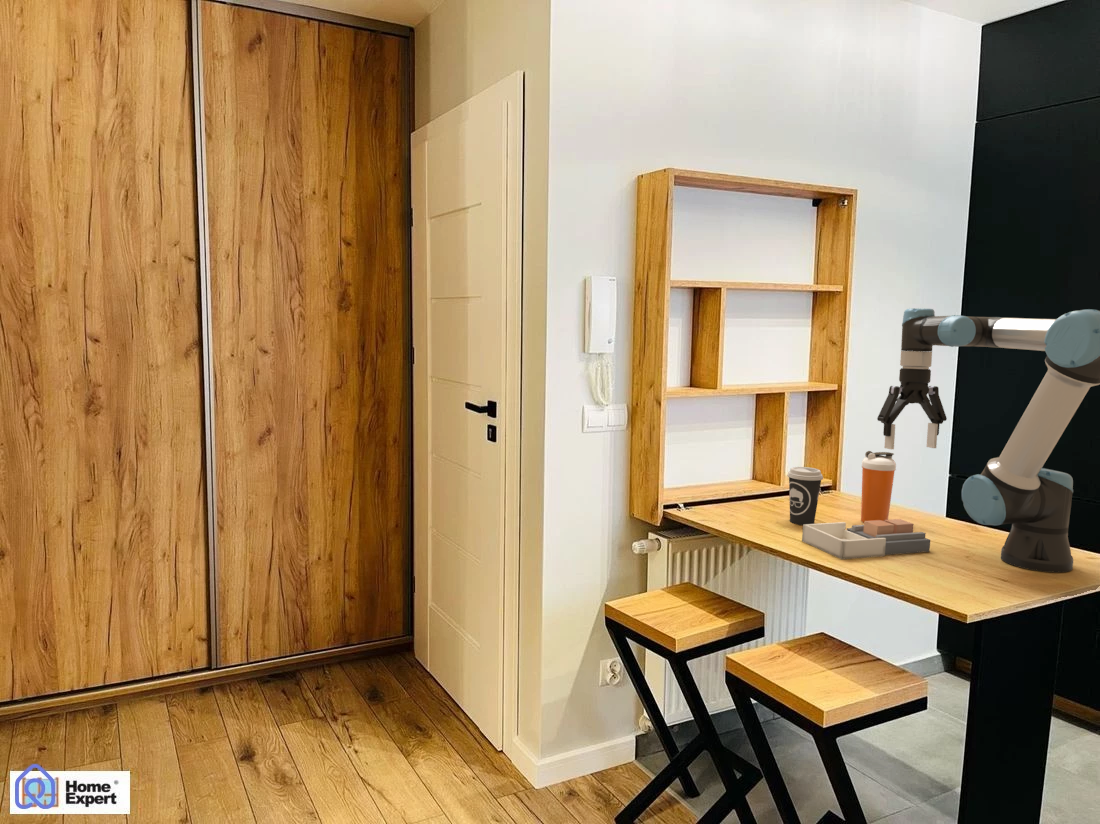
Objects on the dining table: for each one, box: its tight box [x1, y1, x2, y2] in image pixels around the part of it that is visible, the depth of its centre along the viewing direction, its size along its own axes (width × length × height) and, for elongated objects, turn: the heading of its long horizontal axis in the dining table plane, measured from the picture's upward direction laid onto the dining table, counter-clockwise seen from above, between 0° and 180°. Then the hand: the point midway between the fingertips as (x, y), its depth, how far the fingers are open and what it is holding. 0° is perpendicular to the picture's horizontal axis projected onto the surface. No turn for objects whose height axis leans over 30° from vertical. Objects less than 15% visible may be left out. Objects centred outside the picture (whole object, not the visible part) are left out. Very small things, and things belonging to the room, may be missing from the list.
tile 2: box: [884, 518, 914, 534], centre depth 217 cm, size 5×5×3 cm
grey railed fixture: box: [846, 524, 931, 556], centre depth 216 cm, size 14×14×4 cm
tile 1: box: [863, 520, 894, 537], centre depth 215 cm, size 5×5×3 cm
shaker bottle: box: [860, 450, 897, 524], centre depth 239 cm, size 9×9×20 cm
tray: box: [801, 521, 886, 560], centre depth 212 cm, size 16×12×4 cm
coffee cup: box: [787, 466, 824, 526], centre depth 236 cm, size 10×10×15 cm
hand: (910, 448), depth 225 cm, fingers open, 13 cm apart
